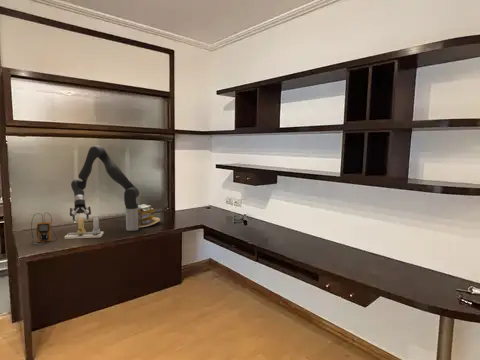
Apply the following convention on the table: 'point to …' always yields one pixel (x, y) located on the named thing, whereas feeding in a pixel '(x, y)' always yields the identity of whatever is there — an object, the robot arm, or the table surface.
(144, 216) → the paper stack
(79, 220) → the brass leg
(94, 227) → the white stand
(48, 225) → the multimeter
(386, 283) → the table surface
